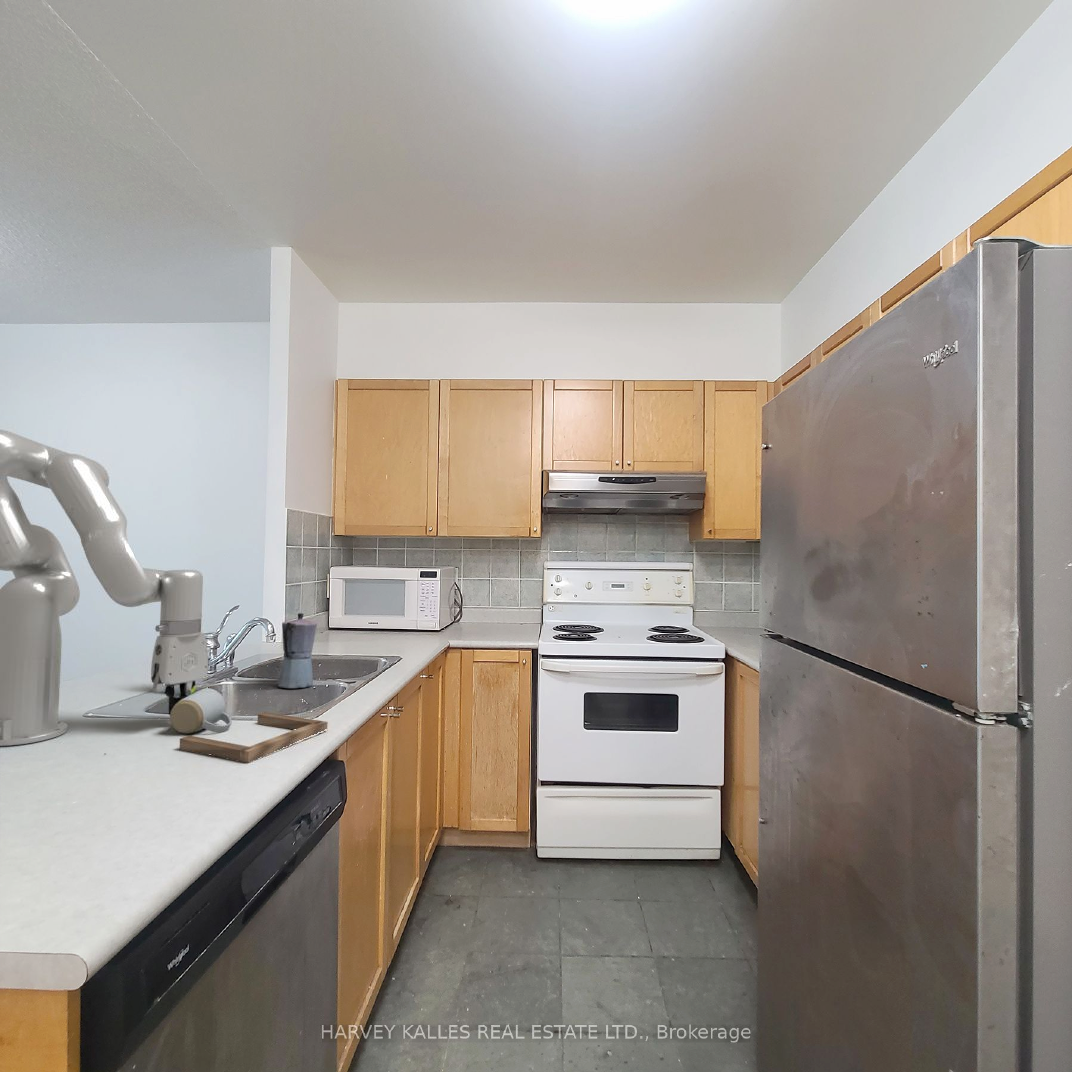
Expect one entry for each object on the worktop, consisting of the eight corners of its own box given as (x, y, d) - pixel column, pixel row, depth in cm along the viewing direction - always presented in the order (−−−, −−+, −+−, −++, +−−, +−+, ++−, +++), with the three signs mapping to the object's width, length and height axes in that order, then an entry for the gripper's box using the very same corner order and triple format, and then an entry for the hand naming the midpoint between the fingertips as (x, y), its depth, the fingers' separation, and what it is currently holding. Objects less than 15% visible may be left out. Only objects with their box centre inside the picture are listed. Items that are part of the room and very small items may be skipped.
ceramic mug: (165, 734, 116) (167, 696, 116) (190, 723, 124) (192, 687, 124) (217, 737, 116) (219, 698, 116) (239, 725, 124) (241, 689, 124)
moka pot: (322, 680, 167) (325, 611, 168) (303, 693, 151) (305, 617, 152) (289, 680, 167) (291, 610, 167) (266, 693, 151) (268, 616, 152)
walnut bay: (248, 763, 102) (248, 751, 102) (179, 749, 108) (179, 738, 108) (327, 731, 120) (327, 721, 120) (264, 721, 126) (265, 712, 126)
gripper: (159, 633, 114) (155, 727, 114) (224, 625, 128) (221, 708, 128) (133, 631, 117) (129, 722, 117) (199, 623, 131) (196, 704, 131)
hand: (177, 714), depth 122 cm, fingers closed
